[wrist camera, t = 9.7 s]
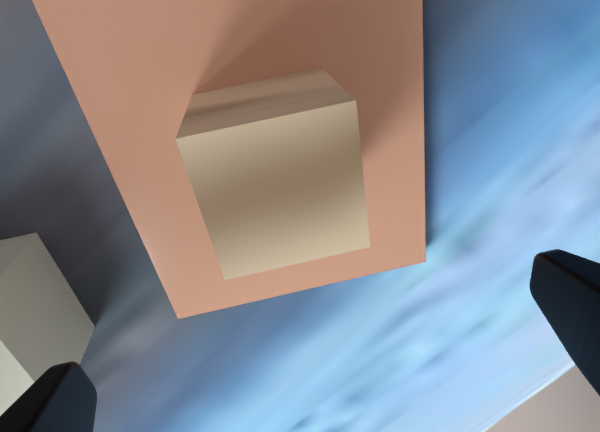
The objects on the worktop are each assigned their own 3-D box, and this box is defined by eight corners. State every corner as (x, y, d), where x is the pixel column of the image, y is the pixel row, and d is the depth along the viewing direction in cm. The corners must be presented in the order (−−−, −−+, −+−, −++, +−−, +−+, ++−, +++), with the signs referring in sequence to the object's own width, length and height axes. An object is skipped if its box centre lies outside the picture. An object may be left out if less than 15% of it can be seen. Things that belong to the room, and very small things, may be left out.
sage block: (95, 325, 21) (59, 413, 17) (18, 343, 21) (-37, 436, 17) (37, 231, 18) (-25, 309, 14) (-53, 251, 18) (-145, 336, 14)
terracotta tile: (419, 252, 22) (425, 261, 21) (180, 307, 21) (178, 318, 20) (411, -132, 13) (420, -138, 13) (17, -55, 13) (5, -57, 12)
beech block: (337, 183, 18) (370, 246, 14) (226, 208, 18) (224, 280, 13) (321, 67, 15) (356, 100, 11) (191, 94, 15) (175, 138, 11)
